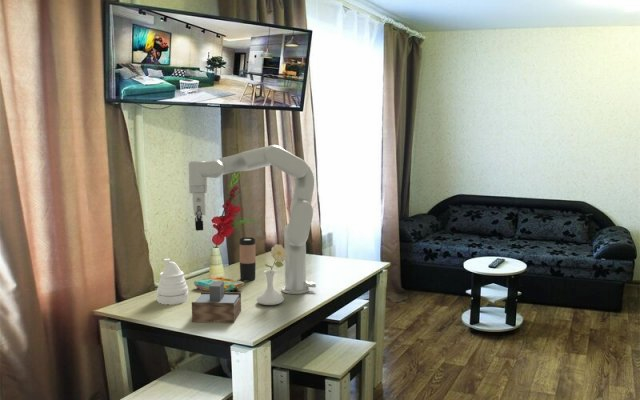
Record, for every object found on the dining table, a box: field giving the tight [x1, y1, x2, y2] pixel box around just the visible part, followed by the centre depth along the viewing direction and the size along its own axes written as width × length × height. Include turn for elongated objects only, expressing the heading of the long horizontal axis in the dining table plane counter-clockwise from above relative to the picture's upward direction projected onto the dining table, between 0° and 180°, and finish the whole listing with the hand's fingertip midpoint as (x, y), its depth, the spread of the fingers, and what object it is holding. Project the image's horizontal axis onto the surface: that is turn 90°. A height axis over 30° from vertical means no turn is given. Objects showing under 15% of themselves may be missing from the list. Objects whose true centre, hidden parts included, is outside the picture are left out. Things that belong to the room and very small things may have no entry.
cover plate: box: [194, 281, 239, 304], centre depth 220 cm, size 15×12×7 cm
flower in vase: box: [256, 243, 287, 306], centre depth 236 cm, size 13×11×25 cm
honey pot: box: [156, 258, 189, 305], centre depth 241 cm, size 13×13×18 cm
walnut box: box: [191, 291, 242, 324], centre depth 220 cm, size 16×14×8 cm
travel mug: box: [239, 236, 257, 282], centre depth 274 cm, size 8×8×20 cm
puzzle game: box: [193, 275, 245, 292], centre depth 258 cm, size 12×5×20 cm
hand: (199, 228), depth 247 cm, fingers open, 9 cm apart
